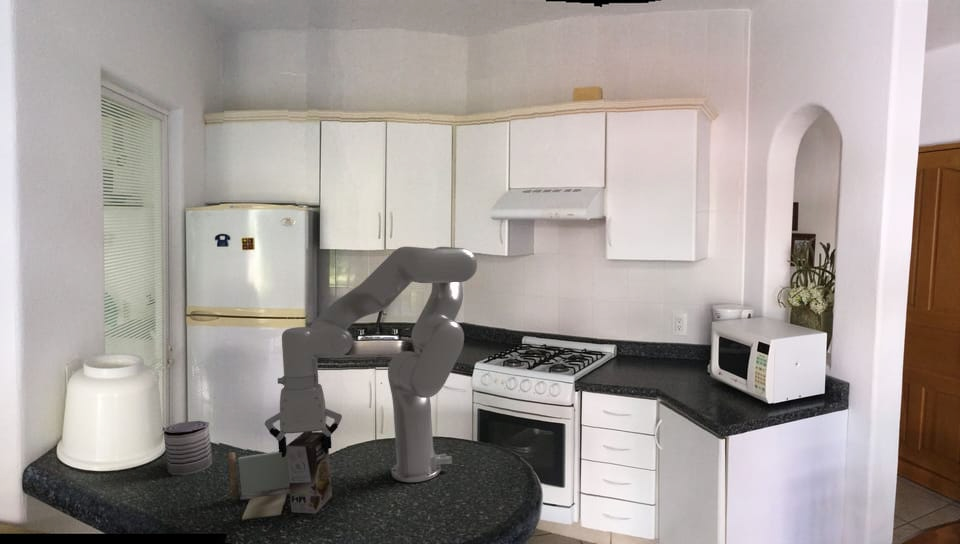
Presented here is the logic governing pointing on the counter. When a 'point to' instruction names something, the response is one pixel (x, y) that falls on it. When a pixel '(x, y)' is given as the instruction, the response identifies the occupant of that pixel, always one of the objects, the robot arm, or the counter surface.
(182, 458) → the can
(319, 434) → the coffee box
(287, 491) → the frame
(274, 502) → the board
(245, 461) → the door
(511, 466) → the counter surface
